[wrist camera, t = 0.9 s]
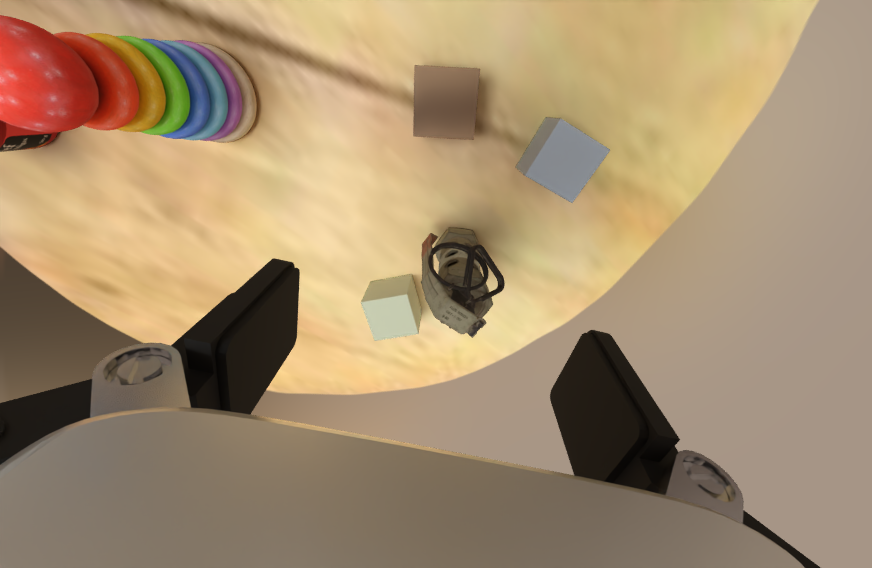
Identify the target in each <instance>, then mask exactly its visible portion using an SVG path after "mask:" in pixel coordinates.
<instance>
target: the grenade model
mask: <svg viewBox="0 0 872 568" xmlns="http://www.w3.org/2000/svg"><path fill="white" fill-rule="evenodd" d="M437 238H438V236H436V235H434V234H432V233H430V234H429V236H428V237H427V238H426V240H425V241H424V242H423V244H422V281H421V283H422V287H423V291H424V295H425V299H426V301H427V303H428V305H429V307H430V309H431V311H432V313H433V315H434V316H435V318H436V319H438V320H440V322H441V323H443V324H446V325H447V326H449V328H452V329H454V330H455V331H457V332H458V333H460V334H465V333H468V334H469V335H470V336H471V337H472V338H473V337H474V336H475V335H476V334H477V331H478V330H479V329H480V328H482V327H483V326H484V325H485V324H486V321H485V320H484V319H483V318H482V317H483V316H484V315H485V314H486V313H487V312H488V311H489V309H490V308H491V307H492V305H493V302H492V298H491V297H492V296H494V295H496V294H498V293H499V292H501V291H502V290H503V289H504V278H503V276H502V274H501V273H500V271H499V270H498V268H497V267H496V265H495V264H494V262H493V261H492V259H491V258H490V256H489V255H488V253H487V252H486V250H485V249H484V247H483V246H481V245H479V244H478V241H477V239H476V236H475V234H474V232H473V231H472V230H468V229H460V228H448V229H447V231H446V232H445V233H444V234H443V235H442V237H441V238H440V239H439V241H438V242H437V244H436V245H435V247H434V248H433V249H432V244H433V243H434V242H435V241H436V239H437ZM434 254H436V256H437V259H438V261H439V272H438V274H437V273H436V271H435V270H434V265H433V255H434ZM485 262H486V263H485ZM479 264H480V265H481V267H482V269H483V274H484V277H483V276H482V274H481V272H480V266H479ZM486 264H487V265H488V266H489V268H490V269H491V271H492V272H493V274H494V275H495V277H496V278H497V281H498V287H497V289H495V290H493V291H491V292H489V290H488V287H487V285H486V281H487V279H488V267H487V265H486Z"/></svg>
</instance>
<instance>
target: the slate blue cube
mask: <svg viewBox="0 0 872 568" xmlns="http://www.w3.org/2000/svg"><path fill="white" fill-rule="evenodd" d="M609 151H610V149H608V148H607V147H605V146H603V145H602V144H600V143H599V142H597V141H596V140H594V139H592V138H591V137H589V136H588V135H586V134H585V133H583V132H581V131H580V130H578V129H577V128H575V127H574V126H572V125H570V124H569V123H567V122H566V121H564V120H562V119H561V118H548V117H546V118H545V119H544V121H543V123H542V124H541V126H540V127H539V129H538V131H537V132H536V134H535V136H534V137H533V139H532V141H531V142H530V144H529V146H528V147H527V149H526V150H525V152H524V154H523V155H522V157H521V159H520V160H519V162H518V164H517V165H516V168H517V169H518V170H519V171H520V172H521V173H523V174H524V175H525V176H526V177H528V178H530V179H532V180H533V181H535V182H537V183H538V184H540V185H542V186H544V187H545V188H547V189H549V190H550V191H552V192H554V193H556V194H557V195H559V196H561V197H562V198H564V199H566V200H568V201H569V202H571V203H573V201H574V200H575V199H576V197H577V196H578V194H579V193H580V192H581V190H582V189H583V187H584V186H585V185H586V183H587V182H588V180H589V179H590V178H591V176H592V175H593V173H594V172H595V171H596V169H597V168H598V167H599V165H600V164H601V162H602V161H603V160H604V158H605V157H606V155H607V154H608V153H609Z"/></svg>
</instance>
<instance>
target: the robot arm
mask: <svg viewBox="0 0 872 568" xmlns="http://www.w3.org/2000/svg"><path fill="white" fill-rule="evenodd" d="M299 274H300V273H299V269H298V268H294V264H293V263H292V262H288V261H283V260H279V259H272V260H271V261H270V262H268V263H267V264H266V265H265V266H264V267H263V268H262V269H261V270H259V271H258V272H257V273H256V274H255V275H254V276H253V277H252V278H250V279H249V280H248V281H247V282H246V283H245V284H244V285H243V286H242V287H240V288H239V289H238V290H237V291H236V292H235V293H231V294H230V295H228V296H227V297H226V298H225V299H224V300H222V301H221V302H220V303H219V304H218V305H217V306H216V307H214V308H213V309H212V310H211V311H210V312H209V313H208V314H207V315H205V316H204V317H203V318H202V319H201V320H200V321H199V322H197V323H196V324H195V325H194V326H193V327H192V328H191V329H189V330H188V331H187V332H186V333H185V334H184V335H183V336H182V337H180V338H179V339H178V340H177V341H176V342H175V343H174V344H172V345H171V346H170V345H166V344H162V343H144V344H137V345H133V346H129V347H125V348H123V349H120V350H118V351H116V352H114V353H112V354H110V355H109V356H107V357H106V358H104V359H102V360H101V362H100V363H99V364H98V365H97V366H96V367H95V369H94V372H93V375H92V379H90V380H86V381H82V382H79V383H75V384H71V385H67V386H64V387H60V388H56V389H52V390H48V391H44V392H41V393H37V394H33V395H29V396H26V397H22V398H18V399H14V400H10V401H7V402H3V403H0V568H820V567H819V566H818V565H816V564H815V563H814V562H812V561H811V560H809V559H808V558H807V557H805V556H804V555H803V554H802V553H800V552H799V551H797V550H796V549H795V548H793V547H792V546H791V545H789V544H788V543H787V542H785V541H784V540H783V539H781V538H780V537H779V536H777V535H776V534H775V533H773V532H772V531H771V530H769V529H768V528H767V527H765V526H764V525H763V524H761V523H760V522H759V521H757V520H756V519H755V518H753V517H752V516H751V515H749V514H748V513H747V512H745V511H744V510H743V502H744V501H743V496H742V493H741V491H740V489H739V488H738V486H737V484H736V483H735V482H734V480H733V479H732V478H731V477H730V475H729V474H728V473H727V472H725V471H724V470H723V469H722V468H721V467H720V466H719V465H717V464H716V463H714V462H713V461H712V460H710V459H709V458H707V457H705V456H704V455H702V454H699V453H696V452H694V451H689V450H683V451H680V452H678V451H677V449H676V448H675V445H676V444H677V442H678V441H679V440H680V439H679V438H678V436H677V434H676V433H675V431H674V430H673V428H672V427H671V425H670V424H669V422H668V421H667V419H666V418H665V416H664V415H663V413H662V412H661V410H660V409H659V407H658V406H657V404H656V403H655V401H654V400H653V398H652V397H651V395H650V394H649V392H648V391H647V389H646V387H645V386H644V385H643V383H642V381H641V380H640V378H639V377H638V375H637V374H636V373H635V371H634V369H633V368H632V366H631V365H630V363H629V362H628V360H627V359H626V357H625V356H624V354H623V353H622V351H621V350H620V348H619V347H618V345H617V344H616V342H615V341H614V339H613V338H612V336H611V335H610V334H608V333H604V332H599V331H595V330H590V331H589V332H587V333H584V334H582V336H581V337H580V339H579V341H578V343H577V344H576V346H575V348H574V350H573V352H572V353H571V355H570V357H569V359H568V361H567V363H566V364H565V366H564V368H563V370H562V372H561V374H560V375H559V377H558V379H557V381H556V383H555V384H554V386H553V388H552V390H551V394H550V399H551V404H552V406H553V410H554V413H555V416H556V419H557V422H558V425H559V429H560V431H561V435H562V438H563V441H564V444H565V447H566V450H567V454H568V456H569V460H570V463H571V466H572V469H573V472H574V475H575V476H574V475H569V474H564V473H559V472H554V471H549V470H544V469H539V468H533V467H528V466H523V465H518V464H514V463H508V462H503V461H498V460H493V459H488V458H483V457H477V456H472V455H467V454H462V453H457V452H451V451H446V450H441V449H436V448H431V447H425V446H420V445H415V444H410V443H405V442H399V441H394V440H389V439H383V438H377V437H373V436H367V435H362V434H356V433H351V432H346V431H340V430H335V429H330V428H324V427H319V426H313V425H308V424H302V423H297V422H291V421H285V420H279V419H273V418H268V417H262V416H256V415H250V414H251V412H252V411H253V409H254V408H255V406H256V404H257V403H258V401H259V400H260V398H261V396H262V395H263V394H264V392H265V391H266V389H267V387H268V386H269V384H270V383H271V381H272V380H273V378H274V377H275V375H276V373H277V372H278V370H279V369H280V367H281V366H282V364H283V362H284V361H285V359H286V358H287V356H288V355H289V353H290V352H291V350H292V348H293V347H294V345H295V342H296V338H297V320H298V297H299Z"/></svg>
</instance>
